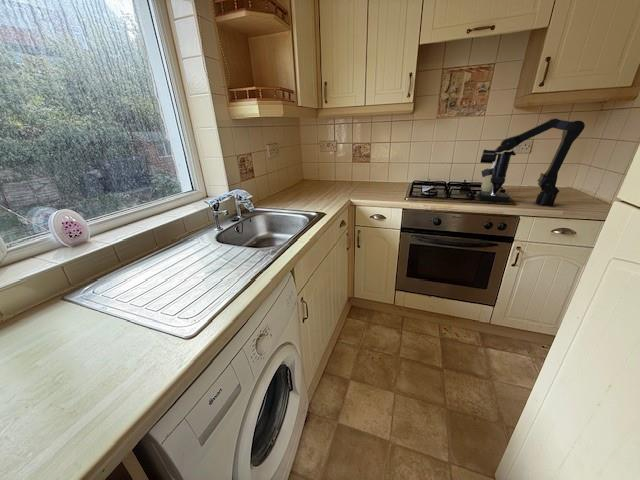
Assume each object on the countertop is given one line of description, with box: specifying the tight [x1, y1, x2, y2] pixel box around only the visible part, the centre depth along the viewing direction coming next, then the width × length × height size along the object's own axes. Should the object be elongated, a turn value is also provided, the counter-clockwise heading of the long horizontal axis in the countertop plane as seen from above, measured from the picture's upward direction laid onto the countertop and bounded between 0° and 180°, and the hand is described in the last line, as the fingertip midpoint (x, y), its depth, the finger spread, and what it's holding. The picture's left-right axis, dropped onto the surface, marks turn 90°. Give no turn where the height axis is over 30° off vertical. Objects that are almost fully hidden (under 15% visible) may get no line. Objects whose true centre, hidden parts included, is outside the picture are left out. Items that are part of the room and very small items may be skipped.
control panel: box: [478, 190, 511, 204], centre depth 145 cm, size 13×10×3 cm
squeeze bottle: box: [480, 161, 496, 192], centre depth 155 cm, size 8×8×18 cm
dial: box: [490, 185, 502, 195], centre depth 144 cm, size 4×4×5 cm
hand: (494, 193), depth 144 cm, fingers closed on dial, 4 cm apart
